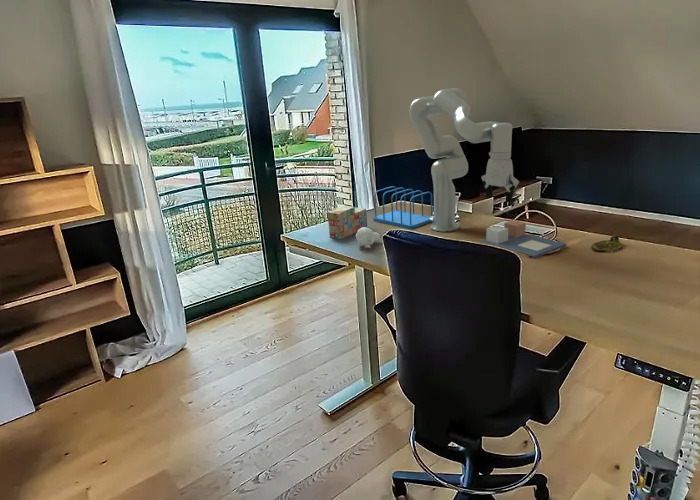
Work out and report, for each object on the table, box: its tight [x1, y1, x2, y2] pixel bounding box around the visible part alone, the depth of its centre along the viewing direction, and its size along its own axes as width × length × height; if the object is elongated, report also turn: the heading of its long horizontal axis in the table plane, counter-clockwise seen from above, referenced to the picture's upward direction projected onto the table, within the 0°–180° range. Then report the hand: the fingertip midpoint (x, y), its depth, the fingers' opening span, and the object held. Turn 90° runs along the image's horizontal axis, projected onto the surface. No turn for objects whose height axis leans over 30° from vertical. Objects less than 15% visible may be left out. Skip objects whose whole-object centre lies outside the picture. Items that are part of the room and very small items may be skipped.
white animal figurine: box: [355, 227, 381, 249], centre depth 200 cm, size 6×8×12 cm
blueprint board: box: [478, 233, 567, 259], centre depth 189 cm, size 26×20×1 cm
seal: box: [591, 233, 624, 253], centre depth 179 cm, size 9×5×15 cm
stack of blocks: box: [327, 205, 368, 240], centre depth 219 cm, size 21×6×12 cm, turn 143°
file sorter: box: [372, 185, 433, 230], centre depth 231 cm, size 25×17×15 cm
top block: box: [503, 219, 527, 238], centre depth 198 cm, size 6×6×5 cm
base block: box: [485, 225, 508, 244], centre depth 192 cm, size 6×6×5 cm
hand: (498, 199), depth 187 cm, fingers open, 9 cm apart
